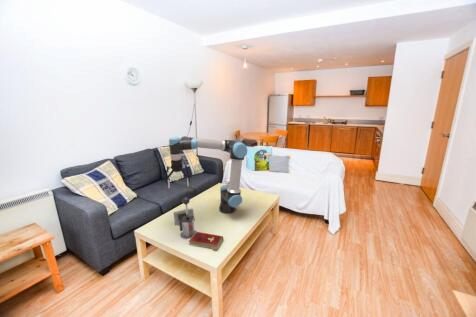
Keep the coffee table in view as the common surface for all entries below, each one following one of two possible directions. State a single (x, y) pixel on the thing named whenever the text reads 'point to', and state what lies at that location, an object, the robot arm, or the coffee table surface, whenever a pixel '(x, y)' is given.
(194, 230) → the trivet
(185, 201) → the ball knob lever
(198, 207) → the coffee table surface
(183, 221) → the grey blocky piece
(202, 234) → the hardcover book
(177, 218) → the digital clock
